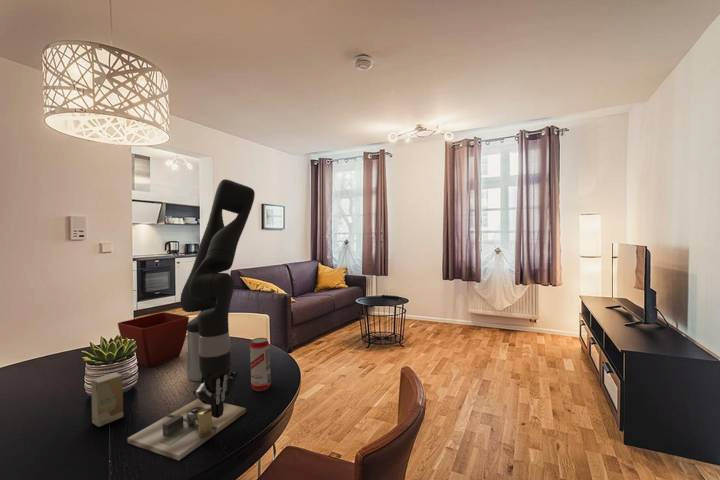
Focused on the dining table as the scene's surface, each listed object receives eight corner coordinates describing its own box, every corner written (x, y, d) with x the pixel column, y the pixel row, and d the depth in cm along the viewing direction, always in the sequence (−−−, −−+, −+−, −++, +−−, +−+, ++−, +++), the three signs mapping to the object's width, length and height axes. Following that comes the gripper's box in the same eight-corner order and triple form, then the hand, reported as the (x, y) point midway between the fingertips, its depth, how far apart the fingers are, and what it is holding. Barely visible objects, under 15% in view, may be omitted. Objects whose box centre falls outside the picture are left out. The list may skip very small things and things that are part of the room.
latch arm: (185, 420, 91) (184, 399, 91) (202, 414, 94) (201, 394, 94) (198, 440, 82) (197, 417, 82) (216, 433, 85) (216, 410, 85)
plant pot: (145, 373, 128) (143, 328, 127) (118, 364, 137) (116, 322, 137) (191, 355, 145) (190, 316, 144) (165, 349, 154) (163, 311, 153)
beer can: (265, 392, 110) (263, 343, 109) (247, 391, 111) (246, 342, 111) (274, 384, 116) (272, 337, 116) (257, 382, 117) (255, 336, 117)
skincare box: (98, 427, 92) (96, 383, 92) (91, 423, 95) (89, 379, 94) (125, 416, 98) (123, 374, 97) (117, 412, 100) (115, 371, 100)
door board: (127, 442, 85) (126, 426, 85) (200, 401, 105) (199, 387, 105) (178, 460, 78) (178, 442, 78) (246, 412, 98) (245, 397, 98)
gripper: (205, 361, 80) (208, 433, 81) (244, 343, 93) (246, 406, 93) (182, 357, 83) (185, 427, 84) (223, 340, 96) (225, 401, 96)
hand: (217, 416), depth 89 cm, fingers closed
